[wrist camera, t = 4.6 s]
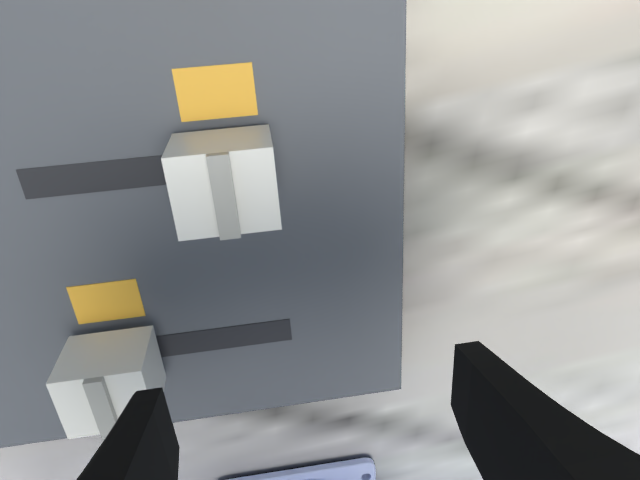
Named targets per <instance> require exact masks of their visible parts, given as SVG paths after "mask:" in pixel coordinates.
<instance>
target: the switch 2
mask: <svg viewBox="0 0 640 480" xmlns="http://www.w3.org/2000/svg"><path fill="white" fill-rule="evenodd" d="M161 161H162V166H163V171H164V175H165V180H166V185H167V189H168V194H169V199H170V204H171V208H172V213H173V218H174V222H175V227H176V232H177V236H178V241H186V240H195V239H204V238H212V237H220V240H228V239H237V238H241V234H247V233H256V232H264V231H273V230H282V225H281V216H280V207H279V198H278V188H277V179H276V170H275V160H274V151H273V144H272V139H271V133H270V128H269V124H266V125H256V126H245V127H235V128H225V129H214V130H204V131H193V132H183V133H173V134H172V135H171V137H170V139H169V142H168V144H167V146H166V148H165V150H164V153H163V155H162V157H161Z"/></svg>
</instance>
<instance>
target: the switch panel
mask: <svg viewBox="0 0 640 480" xmlns="http://www.w3.org/2000/svg"><path fill="white" fill-rule="evenodd" d="M405 61H406V0H0V448H3V447H10V446H17V445H23V444H30V443H37V442H44V441H51V440H57V439H64V438H67V436H66V433H65V431H64V428H63V426H62V423H61V421H60V418H59V416H58V413H57V411H56V409H55V406H54V404H53V401H52V399H51V396H50V394H49V391H48V389H47V386H46V382H47V380H48V378H49V376H50V374H51V372H52V370H53V368H54V366H55V364H56V362H57V360H58V358H59V356H60V353H61V351H62V349H63V347H64V345H65V343H66V341H67V339H68V337H69V336H75V335H83V334H90V333H98V332H106V331H113V330H121V329H129V328H137V327H144V326H152V325H153V327H154V331H155V335H156V339H157V343H158V346H159V350H160V354H161V358H162V362H163V366H164V370H165V373H166V383H165V388H164V395H165V399H166V402H167V406H168V409H169V413H170V416H171V420H172V423H173V422H180V421H187V420H194V419H200V418H207V417H214V416H221V415H228V414H234V413H241V412H248V411H255V410H262V409H269V408H275V407H282V406H289V405H296V404H303V403H309V402H316V401H323V400H330V399H337V398H343V397H350V396H357V395H364V394H371V393H378V392H384V391H391V390H398V389H401V357H402V283H403V209H404V135H405ZM266 124H269V128H270V133H271V139H272V144H273V151H274V160H275V170H276V179H277V188H278V198H279V207H280V216H281V225H282V230H273V231H264V232H256V233H247V234H241V238H237V239H228V240H220V237H212V238H204V239H195V240H186V241H178V236H177V232H176V227H175V222H174V218H173V213H172V208H171V204H170V199H169V194H168V189H167V185H166V180H165V175H164V171H163V166H162V161H161V157H162V155H163V153H164V150H165V148H166V146H167V144H168V142H169V139H170V137H171V135H172V134H173V133H183V132H193V131H204V130H214V129H225V128H235V127H245V126H256V125H266Z"/></svg>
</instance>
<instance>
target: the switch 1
mask: <svg viewBox="0 0 640 480" xmlns="http://www.w3.org/2000/svg"><path fill="white" fill-rule="evenodd" d="M165 383H166V373H165V370H164V366H163V362H162V358H161V354H160V350H159V346H158V343H157V339H156V335H155V331H154V327H153V325H152V326H144V327H137V328H129V329H121V330H113V331H106V332H98V333H90V334H83V335H75V336H69V337H68V339H67V341H66V343H65V345H64V347H63V349H62V351H61V353H60V356H59V358H58V360H57V362H56V364H55V366H54V368H53V370H52V372H51V374H50V376H49V378H48V380H47V382H46V386H47V389H48V391H49V394H50V396H51V399H52V401H53V404H54V406H55V409H56V411H57V413H58V416H59V418H60V421H61V423H62V426H63V428H64V431H65V433H66V436H67V438H68V439H75V438H82V437H88V436H95V435H101V438H102V440H105V438H106V437H107V435H108V433H109V432H110V430H111V429H112V427H113V426H114V424H115V423H116V421H117V419H118V418H119V416H120V415H121V413H122V411H123V410H124V408H125V407H126V405H127V403H128V402H129V400H130V399H131V397H132V395H133V394H134V393H135V392H136V391H140V390H146V389H153V388H160V387H162V388H163V392H164V388H165Z"/></svg>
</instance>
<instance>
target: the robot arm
mask: <svg viewBox="0 0 640 480" xmlns="http://www.w3.org/2000/svg"><path fill="white" fill-rule="evenodd" d="M451 407H452V409H453V412H454V415H455V418H456V421H457V423H458V426H459V429H460V431H461V434H462V437H463V439H464V442H465V444H466V446H467V448H468V450H469V452H470V454H471V456H472V458H473V460H474V462H475V464H476V466H477V468H478V470H479V472H480V474H481V476H482V478H483V480H640V455H639V454H637V453H635V452H633V451H632V450H630V449H628V448H627V447H625V446H623V445H621V444H620V443H618V442H616V441H615V440H613V439H611V438H610V437H608V436H606V435H605V434H603V433H601V432H600V431H598V430H597V429H595V428H594V427H592V426H590V425H589V424H587V423H586V422H584V421H583V420H581V419H580V418H579V417H577V416H576V415H574V414H573V413H571V412H570V411H568V410H567V409H565V408H564V407H562V406H561V405H560V404H558V403H557V402H556V401H554V400H553V399H551V398H550V397H549V396H547V395H546V394H545V393H543V392H542V391H541V390H539V389H538V388H537V387H535V386H534V385H533V384H531V383H530V382H529V381H528V380H526V379H525V378H524V377H523V376H521V375H520V374H519V373H518V372H516V371H515V370H514V369H513V368H511V367H510V366H509V365H508V364H506V363H505V362H504V361H503V360H501V359H500V358H499V357H498V356H496V355H495V354H494V353H493V352H492V351H490V350H489V349H488V348H487V347H485V346H484V345H483V344H482V343H480V342H479V341H476V342H469V343H462V344H455V352H454V367H453V381H452V396H451ZM178 464H179V445H178V441H177V437H176V434H175V430H174V427H173V423H172V420H171V416H170V413H169V409H168V406H167V402H166V399H165V395H164V392H163V388H162V387H160V388H153V389H146V390H140V391H136V392H135V393H134V394H133V395H132V397H131V399H130V400H129V402H128V403H127V405H126V407H125V408H124V410H123V411H122V413H121V415H120V416H119V418H118V419H117V421H116V423H115V424H114V426H113V427H112V429H111V430H110V432H109V433H108V435H107V437H106V438H105V440H104V441H103V443H102V444H101V446H100V447H99V448H98V450H97V451H96V453H95V454H94V456H93V457H92V459H91V460H90V462H89V463H88V465H87V466H86V467H85V469H84V470H83V472H82V473H81V474H80V476H79V477H78V478H77V480H178ZM226 480H376V470H375V464H374V461H373V460H372V459H371V458H359V459H352V460H346V461H340V462H333V463H327V464H321V465H314V466H308V467H302V468H296V469H289V470H283V471H277V472H270V473H264V474H258V475H251V476H245V477H239V478H232V479H226Z"/></svg>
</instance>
